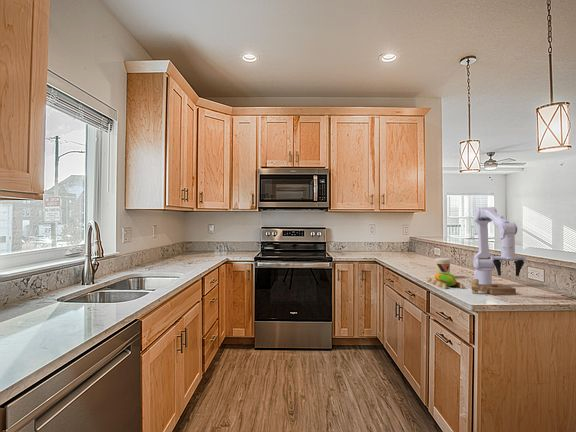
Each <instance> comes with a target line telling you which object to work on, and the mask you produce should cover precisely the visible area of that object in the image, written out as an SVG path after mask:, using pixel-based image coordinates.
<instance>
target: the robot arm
mask: <svg viewBox="0 0 576 432" xmlns="http://www.w3.org/2000/svg"><path fill="white" fill-rule="evenodd" d="M473 219H474V222H475V223H476V225H477V238H478V240H477V243H478V252H477V253H475V254H474V256H473V260H472V264H473V267H474V268H475V270H474V271H473V279H478V280H479V284H493V276H492V275H493V274H492V273H493V272H492V271H493V270H495V269H496V272H497V276H499V277H500V276H502V272H501V269H502V268H501V267H502V261H503V262H505V261H507V262H508V261H509V262H510V261H511V262H514V265H515V276H516V277H519V276H520V273H521V270H522V268H523V266H524V264H525V262H526V261H527V257H526V256H516V241H515V238H516V237H515V235H517V234H518V226H517V224H516V223H515V222H510V221H509V220H508V219H506V218H505V217H504V215H499V214H498V211H497V208H496V207H494V206H491V207H490V206H489V207H488V206H487V207H486V206H485V207H478V206H477V207H475V208H474V211H473ZM491 222H492V224H493V225H494V227H496V228H497V231H498V234H499V239H500V255H493V254H492V253H490V247H489V246H490V245H489V233H488V231H489V229H488V224H489V223H491ZM494 268H495V269H494Z"/></svg>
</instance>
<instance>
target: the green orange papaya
mask: <svg viewBox="0 0 576 432" xmlns="http://www.w3.org/2000/svg"><path fill="white" fill-rule="evenodd" d="M442 273H445V274H436V273H435V274H434V278H435V280H437V281H440V282H442V283H444V284H446V285H447V288H448V287H455V286H454V285H456V282H458V281H457V279H456V277H455V275H454V274H452V273H451V272H450V273H447V272H442Z"/></svg>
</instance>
